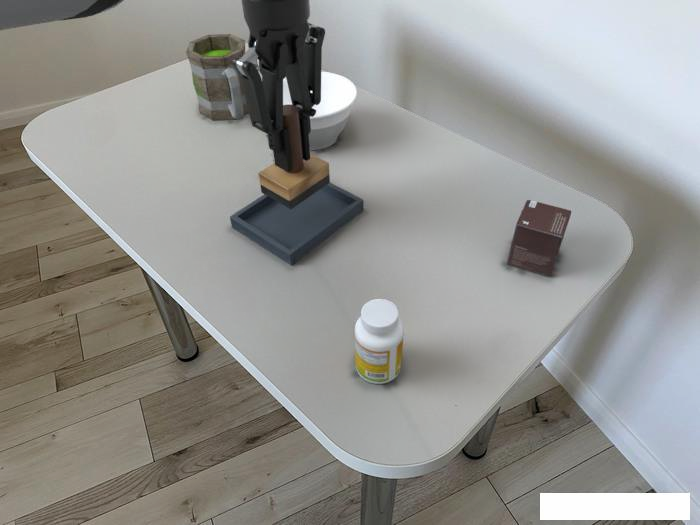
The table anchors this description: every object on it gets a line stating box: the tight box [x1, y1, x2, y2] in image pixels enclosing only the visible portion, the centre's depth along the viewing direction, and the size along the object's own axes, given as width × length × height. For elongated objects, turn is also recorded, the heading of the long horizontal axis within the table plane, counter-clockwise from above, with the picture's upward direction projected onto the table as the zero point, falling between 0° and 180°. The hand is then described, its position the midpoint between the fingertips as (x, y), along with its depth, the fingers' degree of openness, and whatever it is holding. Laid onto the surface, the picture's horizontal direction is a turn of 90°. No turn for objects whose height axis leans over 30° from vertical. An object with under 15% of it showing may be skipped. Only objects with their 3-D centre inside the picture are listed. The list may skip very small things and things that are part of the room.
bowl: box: [283, 71, 359, 151], centre depth 100 cm, size 16×16×9 cm
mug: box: [185, 33, 249, 121], centre depth 105 cm, size 16×11×12 cm
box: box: [506, 199, 572, 277], centre depth 77 cm, size 6×6×7 cm
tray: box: [229, 182, 365, 266], centre depth 86 cm, size 16×13×2 cm
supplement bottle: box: [354, 298, 405, 385], centre depth 64 cm, size 5×5×10 cm
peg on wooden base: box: [258, 104, 331, 209], centre depth 78 cm, size 8×6×12 cm
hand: (292, 161), depth 80 cm, fingers closed on peg on wooden base, 3 cm apart
